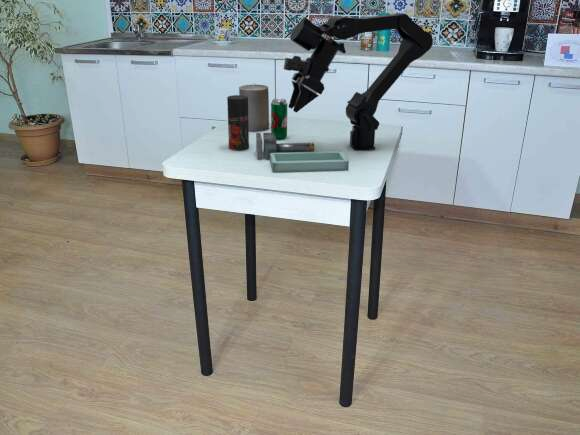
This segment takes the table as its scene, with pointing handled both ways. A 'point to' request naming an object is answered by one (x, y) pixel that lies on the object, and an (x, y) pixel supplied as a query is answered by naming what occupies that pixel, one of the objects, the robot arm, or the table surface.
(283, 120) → the soda can
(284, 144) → the dark grey cylinder
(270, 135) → the clevis
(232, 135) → the deodorant
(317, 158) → the tray
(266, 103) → the pillar candle
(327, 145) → the table surface
